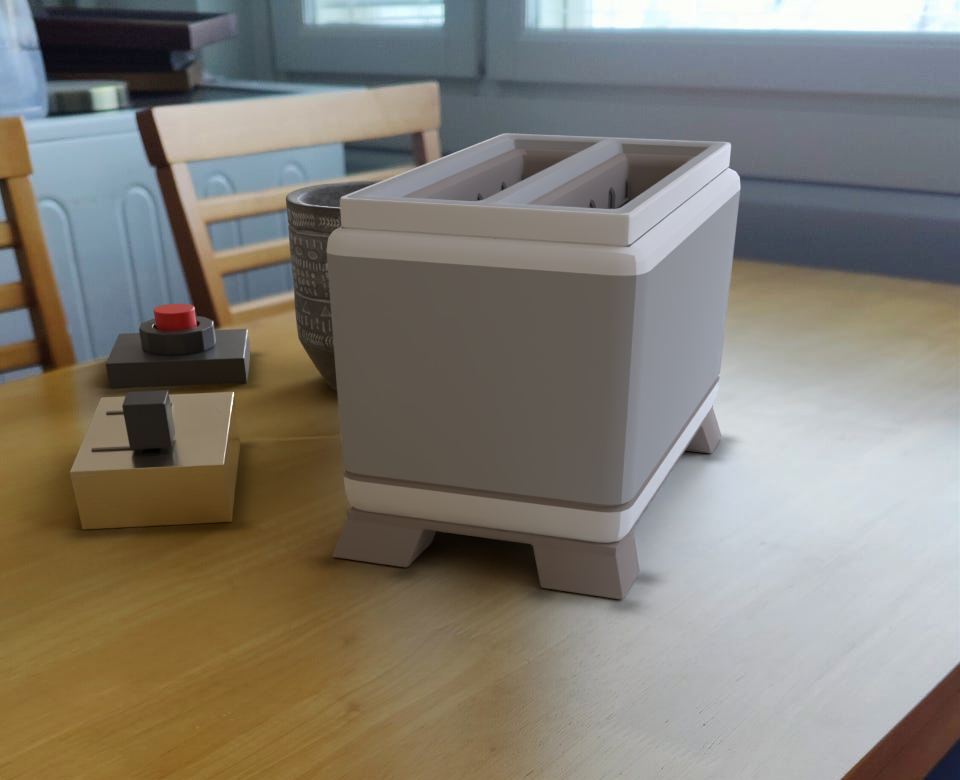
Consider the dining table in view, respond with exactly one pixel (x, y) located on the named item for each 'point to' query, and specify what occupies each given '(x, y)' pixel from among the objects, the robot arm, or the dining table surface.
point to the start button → (175, 317)
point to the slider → (149, 419)
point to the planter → (315, 266)
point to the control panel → (159, 467)
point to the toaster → (530, 345)
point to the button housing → (179, 357)
